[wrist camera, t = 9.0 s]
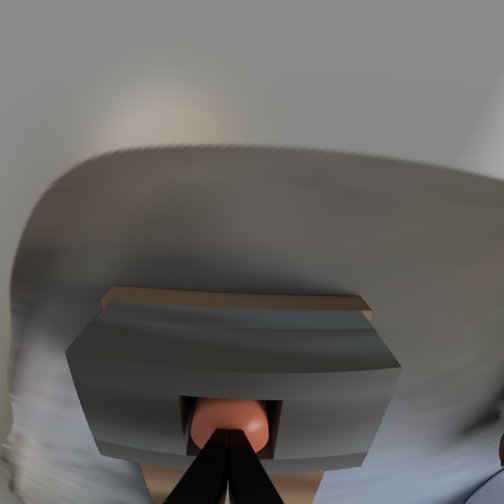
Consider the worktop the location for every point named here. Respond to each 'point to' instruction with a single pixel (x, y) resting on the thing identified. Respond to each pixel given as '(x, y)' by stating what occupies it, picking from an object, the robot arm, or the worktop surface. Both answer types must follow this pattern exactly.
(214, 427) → the orange ball
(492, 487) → the soap bottle
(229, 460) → the robot arm
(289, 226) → the worktop surface
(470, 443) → the worktop surface
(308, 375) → the rail board
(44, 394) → the worktop surface
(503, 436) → the pottery mug
